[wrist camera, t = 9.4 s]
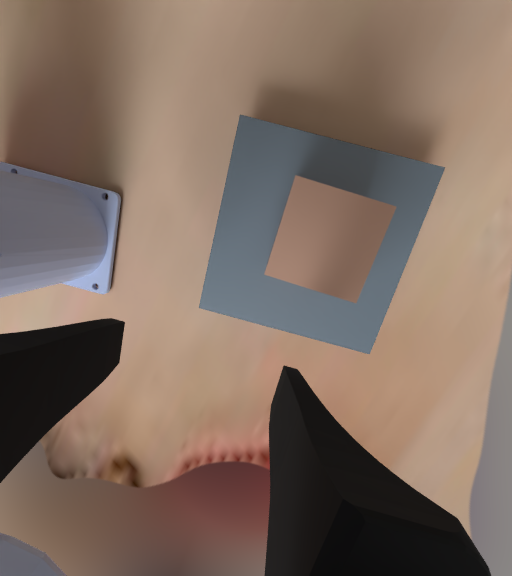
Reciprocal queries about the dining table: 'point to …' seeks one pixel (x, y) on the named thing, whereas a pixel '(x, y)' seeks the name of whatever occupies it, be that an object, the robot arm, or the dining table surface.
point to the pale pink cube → (328, 239)
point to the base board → (267, 215)
